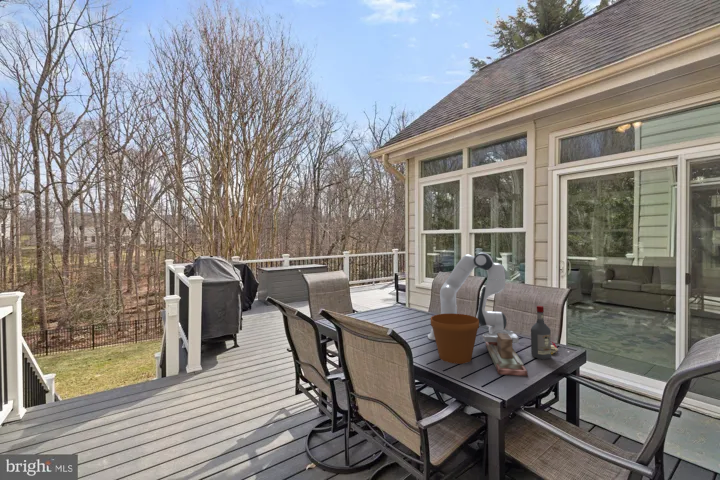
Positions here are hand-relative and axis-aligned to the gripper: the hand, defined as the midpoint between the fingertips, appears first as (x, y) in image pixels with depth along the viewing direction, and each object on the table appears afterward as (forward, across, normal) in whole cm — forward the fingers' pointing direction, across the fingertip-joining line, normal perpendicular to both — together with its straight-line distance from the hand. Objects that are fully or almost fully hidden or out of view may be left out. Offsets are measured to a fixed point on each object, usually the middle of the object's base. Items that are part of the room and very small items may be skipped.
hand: (502, 342), depth 200 cm
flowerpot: (+7, -28, +9) cm, 30 cm away
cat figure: (-19, +29, +9) cm, 36 cm away
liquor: (-3, +22, +9) cm, 24 cm away
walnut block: (+6, 0, +6) cm, 8 cm away
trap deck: (+5, 0, +8) cm, 10 cm away
